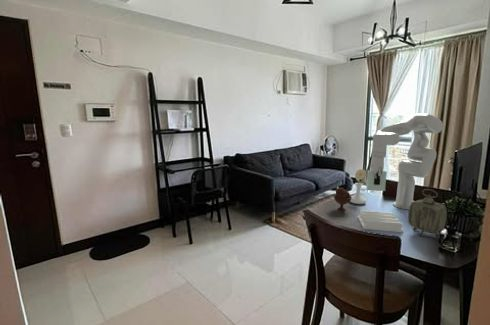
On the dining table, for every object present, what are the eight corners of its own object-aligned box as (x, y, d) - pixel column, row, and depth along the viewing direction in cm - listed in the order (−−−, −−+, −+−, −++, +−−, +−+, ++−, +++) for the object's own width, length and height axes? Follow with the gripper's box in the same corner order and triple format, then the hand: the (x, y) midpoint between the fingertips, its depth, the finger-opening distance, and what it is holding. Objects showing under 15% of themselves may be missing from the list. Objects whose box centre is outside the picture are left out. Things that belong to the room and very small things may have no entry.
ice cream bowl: (342, 214, 164) (344, 191, 161) (329, 208, 174) (330, 186, 171) (354, 211, 169) (356, 189, 166) (340, 205, 179) (342, 184, 176)
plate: (383, 189, 161) (385, 170, 158) (384, 191, 159) (386, 171, 156) (366, 189, 163) (367, 170, 161) (367, 190, 161) (368, 171, 158)
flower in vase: (345, 200, 190) (348, 166, 185) (360, 199, 191) (363, 166, 186) (355, 206, 177) (358, 170, 172) (370, 206, 178) (374, 170, 173)
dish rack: (394, 220, 155) (395, 212, 154) (403, 232, 140) (404, 223, 139) (357, 217, 159) (358, 210, 158) (363, 228, 144) (364, 220, 143)
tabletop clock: (443, 238, 133) (450, 191, 128) (435, 243, 128) (442, 194, 123) (412, 228, 145) (418, 184, 140) (404, 232, 140) (410, 187, 135)
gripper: (368, 151, 165) (366, 180, 168) (375, 156, 149) (372, 187, 153) (381, 152, 163) (379, 180, 167) (389, 156, 148) (386, 188, 152)
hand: (376, 183), depth 160 cm, fingers closed on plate, 2 cm apart
